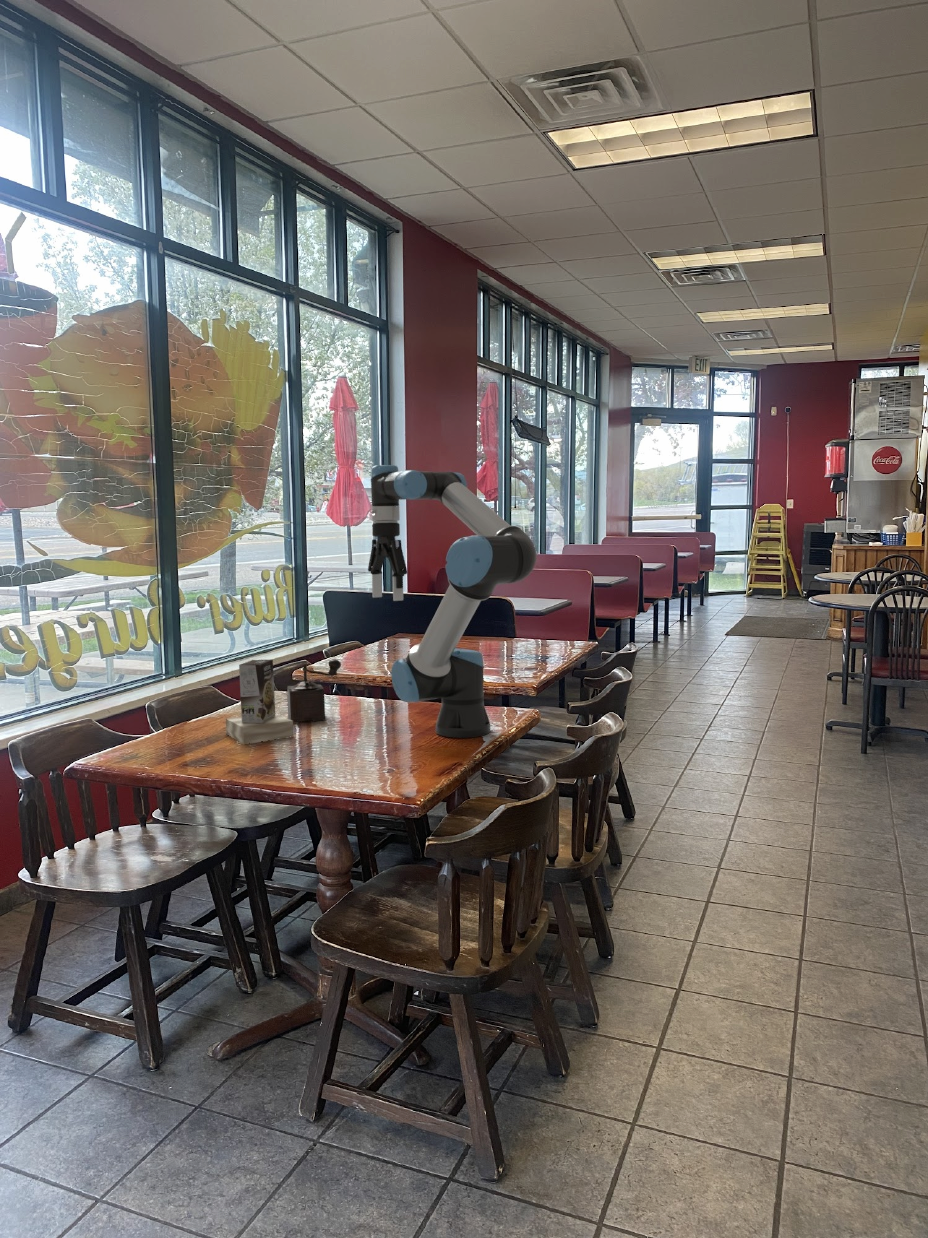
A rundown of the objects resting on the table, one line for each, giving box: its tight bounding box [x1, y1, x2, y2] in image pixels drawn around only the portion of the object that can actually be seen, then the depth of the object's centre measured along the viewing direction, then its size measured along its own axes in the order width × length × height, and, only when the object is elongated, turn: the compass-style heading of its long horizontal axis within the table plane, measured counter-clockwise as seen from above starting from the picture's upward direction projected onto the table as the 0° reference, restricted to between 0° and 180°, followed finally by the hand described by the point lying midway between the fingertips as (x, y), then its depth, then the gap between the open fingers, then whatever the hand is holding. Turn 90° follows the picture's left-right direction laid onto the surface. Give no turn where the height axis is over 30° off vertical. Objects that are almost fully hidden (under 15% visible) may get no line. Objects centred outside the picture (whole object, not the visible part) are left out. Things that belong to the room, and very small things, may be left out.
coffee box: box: [238, 659, 276, 723], centre depth 248 cm, size 9×6×16 cm
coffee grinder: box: [287, 658, 342, 723], centre depth 270 cm, size 16×11×18 cm
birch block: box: [225, 712, 294, 745], centre depth 249 cm, size 14×14×5 cm
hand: (387, 598), depth 252 cm, fingers open, 13 cm apart
